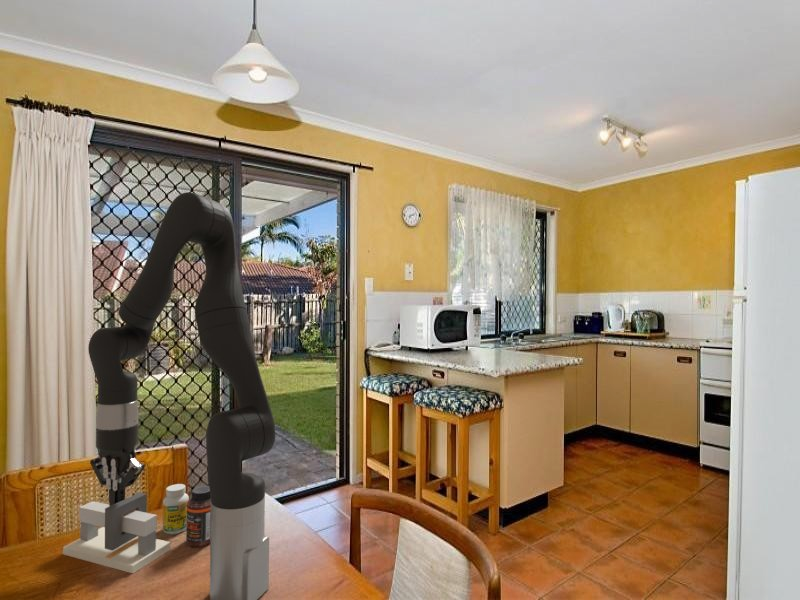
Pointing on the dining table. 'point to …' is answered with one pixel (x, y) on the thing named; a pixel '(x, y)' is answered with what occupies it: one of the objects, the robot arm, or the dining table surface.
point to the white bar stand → (124, 556)
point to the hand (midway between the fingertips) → (116, 506)
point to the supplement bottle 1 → (175, 509)
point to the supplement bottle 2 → (199, 517)
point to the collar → (114, 518)
